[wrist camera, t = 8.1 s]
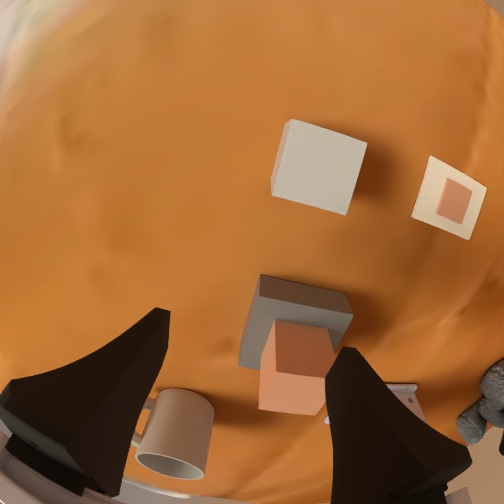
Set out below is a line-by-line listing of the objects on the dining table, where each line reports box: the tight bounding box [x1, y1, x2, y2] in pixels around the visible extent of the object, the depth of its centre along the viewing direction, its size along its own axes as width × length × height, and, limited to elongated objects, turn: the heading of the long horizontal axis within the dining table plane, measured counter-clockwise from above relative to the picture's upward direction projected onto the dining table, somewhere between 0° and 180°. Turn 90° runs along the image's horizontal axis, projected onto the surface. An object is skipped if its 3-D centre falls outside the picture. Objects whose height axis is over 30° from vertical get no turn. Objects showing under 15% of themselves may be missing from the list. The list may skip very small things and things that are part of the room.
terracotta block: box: [259, 319, 336, 415], centre depth 18 cm, size 4×4×5 cm
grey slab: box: [238, 275, 354, 370], centre depth 21 cm, size 7×7×3 cm
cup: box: [131, 388, 214, 480], centre depth 24 cm, size 7×10×9 cm
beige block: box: [271, 119, 367, 215], centre depth 15 cm, size 4×4×5 cm
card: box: [411, 156, 487, 240], centre depth 18 cm, size 7×5×1 cm
